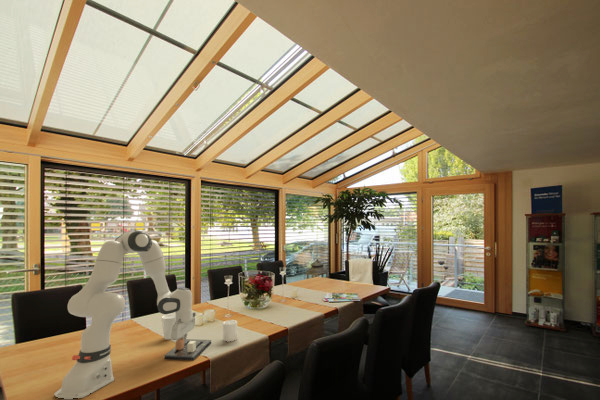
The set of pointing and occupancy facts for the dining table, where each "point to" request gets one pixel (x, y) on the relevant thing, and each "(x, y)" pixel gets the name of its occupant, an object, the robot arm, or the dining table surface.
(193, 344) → the block
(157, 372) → the dining table surface
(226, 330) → the cup
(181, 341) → the block
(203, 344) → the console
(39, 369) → the dining table surface
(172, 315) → the foam cup
